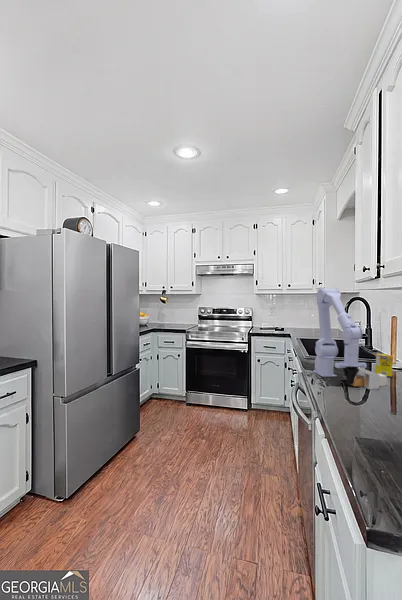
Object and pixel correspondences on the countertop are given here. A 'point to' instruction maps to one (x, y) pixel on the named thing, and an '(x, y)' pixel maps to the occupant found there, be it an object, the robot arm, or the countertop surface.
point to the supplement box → (384, 365)
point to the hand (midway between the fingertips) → (350, 383)
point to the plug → (361, 381)
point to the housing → (369, 378)
